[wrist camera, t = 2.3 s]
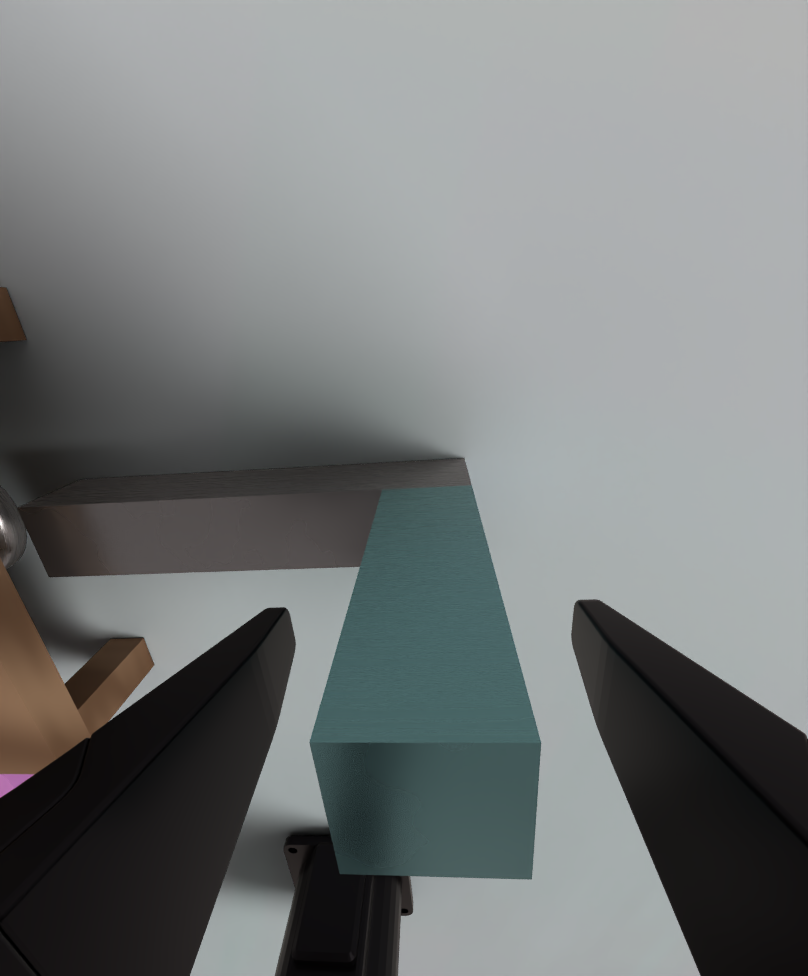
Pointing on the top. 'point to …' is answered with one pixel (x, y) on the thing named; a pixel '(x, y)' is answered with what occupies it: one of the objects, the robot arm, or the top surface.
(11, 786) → the bracket
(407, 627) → the teal angled piece
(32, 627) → the stand
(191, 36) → the top surface
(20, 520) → the disc
